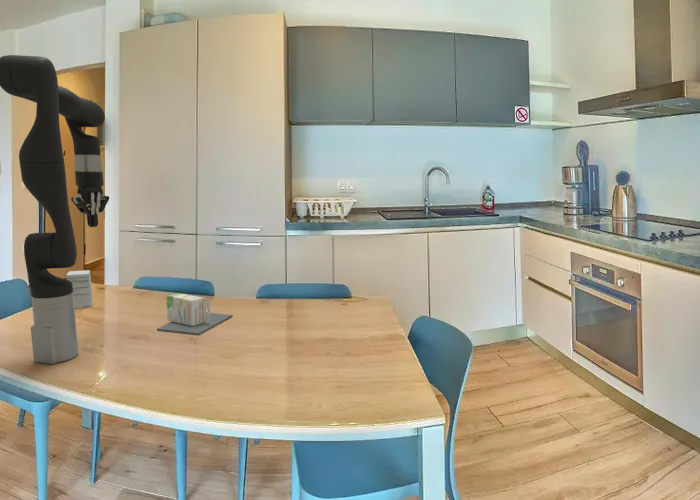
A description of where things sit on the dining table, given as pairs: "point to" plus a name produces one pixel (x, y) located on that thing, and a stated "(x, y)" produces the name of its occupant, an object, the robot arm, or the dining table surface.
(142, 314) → the dining table surface
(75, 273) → the supplement box
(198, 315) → the ink box
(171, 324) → the mat
